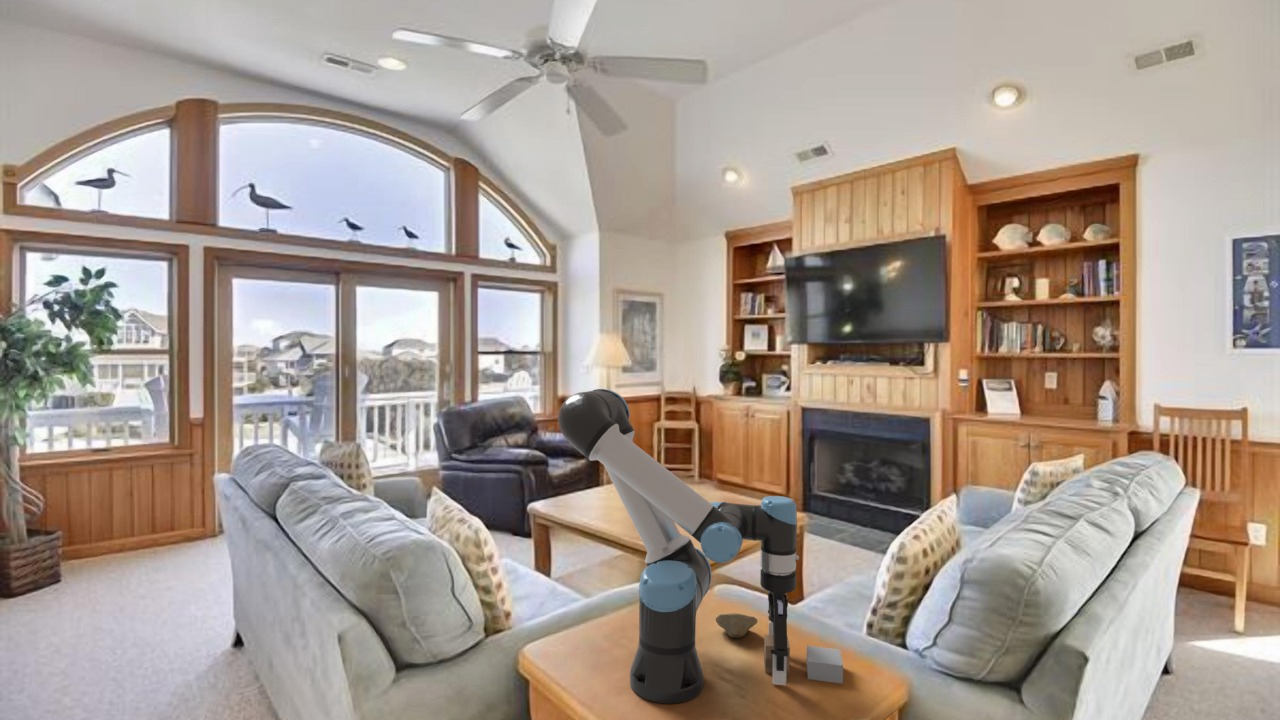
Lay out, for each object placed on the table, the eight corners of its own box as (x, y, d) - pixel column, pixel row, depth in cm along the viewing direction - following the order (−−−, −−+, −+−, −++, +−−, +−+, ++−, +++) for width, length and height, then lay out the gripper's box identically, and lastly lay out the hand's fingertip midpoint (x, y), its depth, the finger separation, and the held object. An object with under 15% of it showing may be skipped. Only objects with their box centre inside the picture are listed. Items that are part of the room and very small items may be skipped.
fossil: (762, 615, 143) (723, 609, 141) (764, 634, 140) (724, 628, 138) (747, 627, 149) (709, 621, 148) (748, 645, 146) (710, 639, 145)
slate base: (807, 680, 126) (808, 661, 126) (806, 663, 133) (806, 645, 133) (842, 684, 124) (843, 665, 124) (839, 667, 131) (839, 649, 131)
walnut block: (765, 673, 128) (765, 645, 128) (764, 661, 133) (764, 634, 133) (789, 675, 127) (789, 647, 127) (787, 663, 132) (787, 636, 132)
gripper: (803, 593, 117) (801, 701, 117) (790, 551, 141) (788, 640, 142) (763, 591, 118) (762, 697, 118) (757, 549, 142) (756, 637, 143)
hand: (776, 666), depth 130 cm, fingers open, 13 cm apart
